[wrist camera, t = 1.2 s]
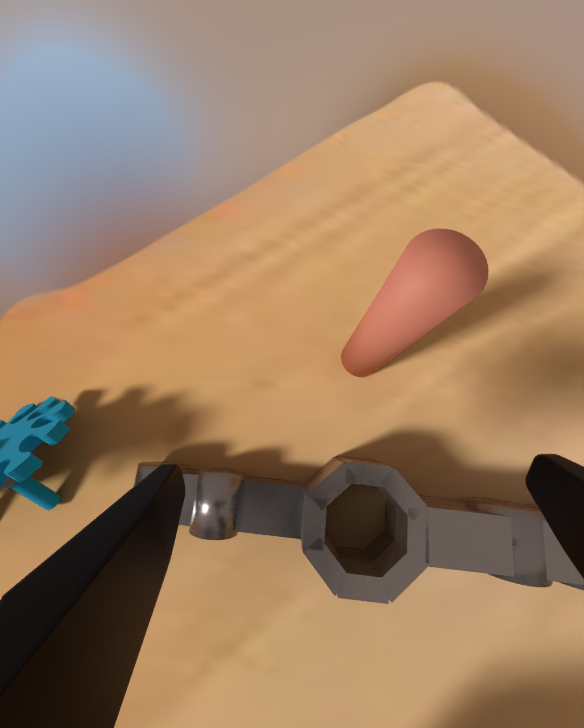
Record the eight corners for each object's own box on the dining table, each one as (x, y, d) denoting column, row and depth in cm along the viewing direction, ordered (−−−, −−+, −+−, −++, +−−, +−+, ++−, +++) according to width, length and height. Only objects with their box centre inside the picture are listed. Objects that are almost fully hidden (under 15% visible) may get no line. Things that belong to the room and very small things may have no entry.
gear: (83, 370, 21) (-11, 495, 13) (137, 424, 24) (90, 552, 16) (-51, 431, 22) (-227, 589, 13) (19, 476, 25) (-87, 626, 16)
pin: (379, 378, 23) (490, 309, 10) (340, 374, 23) (401, 300, 10) (380, 341, 23) (486, 232, 11) (342, 337, 23) (403, 225, 11)
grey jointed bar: (579, 595, 19) (656, 638, 15) (134, 542, 20) (94, 570, 16) (568, 482, 21) (635, 493, 17) (156, 436, 22) (125, 437, 18)
